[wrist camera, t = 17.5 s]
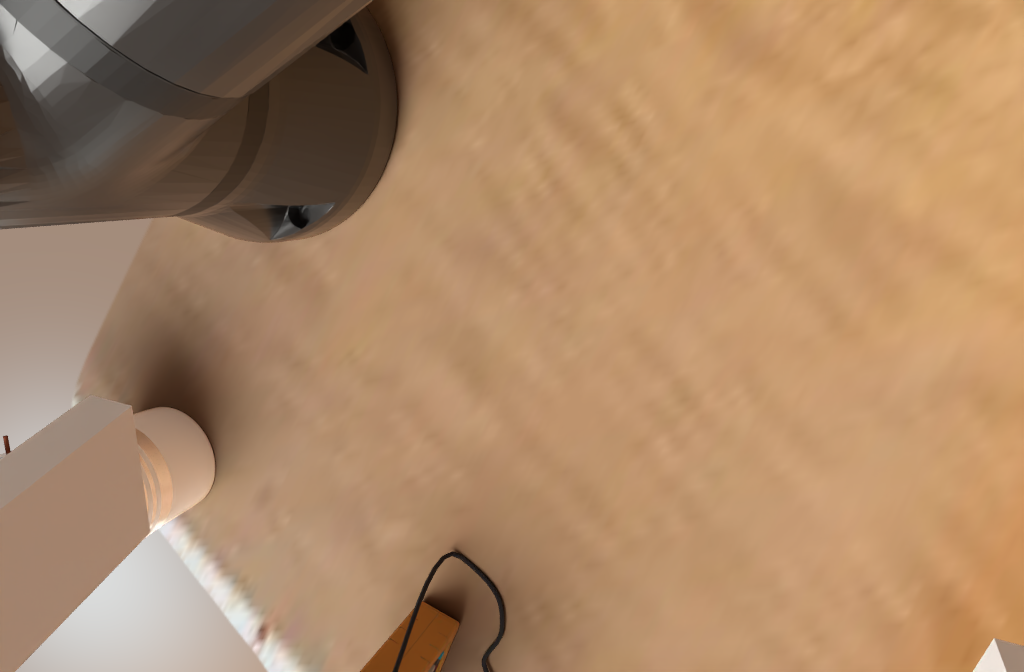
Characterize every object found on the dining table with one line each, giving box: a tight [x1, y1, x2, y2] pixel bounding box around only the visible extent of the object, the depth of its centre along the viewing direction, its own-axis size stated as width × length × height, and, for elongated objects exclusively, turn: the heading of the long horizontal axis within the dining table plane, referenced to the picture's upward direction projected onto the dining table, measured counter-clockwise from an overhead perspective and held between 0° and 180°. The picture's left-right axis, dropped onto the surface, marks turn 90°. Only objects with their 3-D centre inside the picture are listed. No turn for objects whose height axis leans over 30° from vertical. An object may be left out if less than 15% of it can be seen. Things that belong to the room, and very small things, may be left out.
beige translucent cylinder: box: [0, 407, 215, 539], centre depth 45 cm, size 10×8×12 cm
